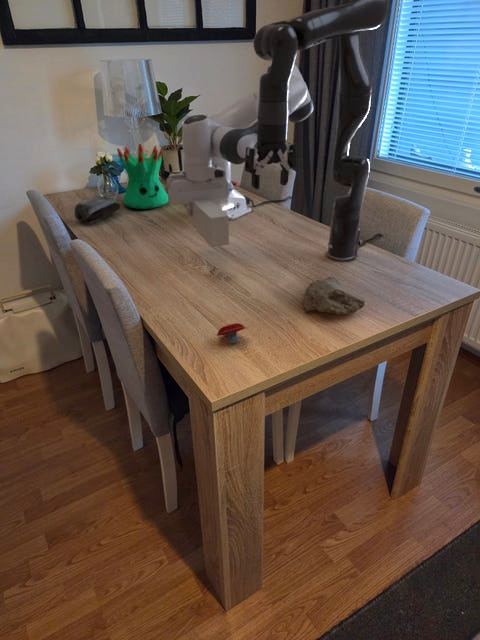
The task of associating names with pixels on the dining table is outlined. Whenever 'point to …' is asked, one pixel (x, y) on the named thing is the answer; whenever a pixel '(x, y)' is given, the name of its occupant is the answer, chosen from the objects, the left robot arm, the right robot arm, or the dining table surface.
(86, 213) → the dark grey case
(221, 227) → the bar
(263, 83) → the right robot arm
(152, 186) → the toy
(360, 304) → the artifact
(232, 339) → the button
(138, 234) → the dining table surface
